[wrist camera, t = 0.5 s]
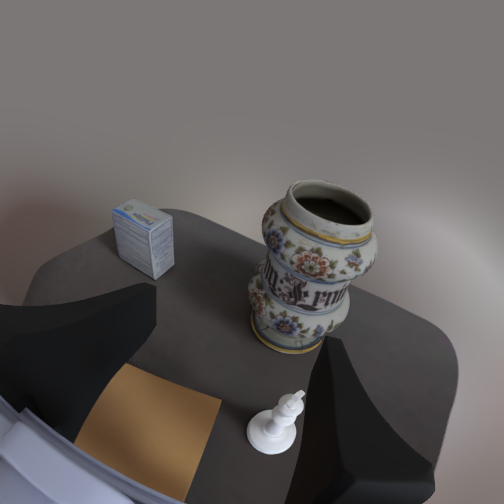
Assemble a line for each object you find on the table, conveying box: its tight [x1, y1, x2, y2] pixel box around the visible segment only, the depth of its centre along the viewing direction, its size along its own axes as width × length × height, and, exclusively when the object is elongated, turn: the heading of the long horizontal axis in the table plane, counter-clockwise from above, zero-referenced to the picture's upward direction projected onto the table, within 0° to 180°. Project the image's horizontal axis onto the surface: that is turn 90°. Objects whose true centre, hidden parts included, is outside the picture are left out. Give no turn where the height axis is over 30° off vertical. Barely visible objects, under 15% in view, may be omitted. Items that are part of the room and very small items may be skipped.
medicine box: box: [112, 199, 174, 280], centre depth 39 cm, size 8×4×9 cm, turn 60°
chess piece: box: [247, 390, 305, 454], centre depth 23 cm, size 5×5×10 cm
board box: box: [0, 363, 222, 503], centre depth 20 cm, size 17×17×4 cm
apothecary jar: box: [248, 179, 378, 354], centre depth 32 cm, size 12×12×18 cm
